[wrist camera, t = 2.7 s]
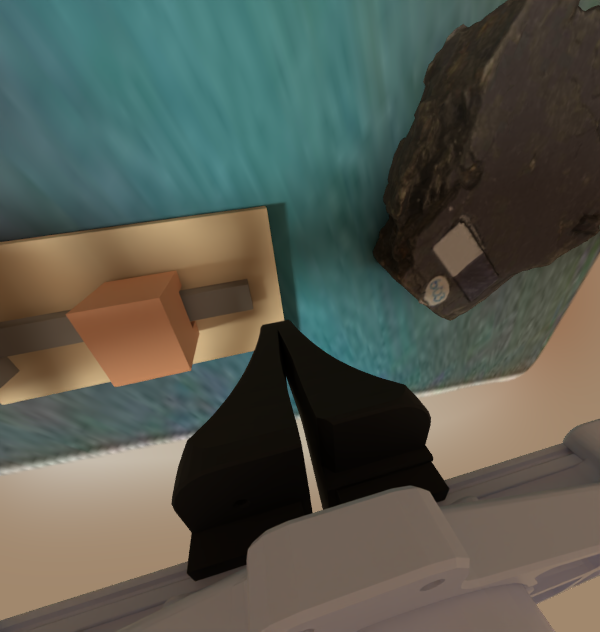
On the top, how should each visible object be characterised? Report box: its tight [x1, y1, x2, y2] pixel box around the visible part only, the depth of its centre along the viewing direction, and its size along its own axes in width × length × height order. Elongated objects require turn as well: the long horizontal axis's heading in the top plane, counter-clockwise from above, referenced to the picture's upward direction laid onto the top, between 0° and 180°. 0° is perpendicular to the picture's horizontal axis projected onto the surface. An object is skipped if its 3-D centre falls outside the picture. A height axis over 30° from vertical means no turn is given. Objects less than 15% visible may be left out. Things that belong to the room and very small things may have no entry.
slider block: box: [65, 271, 199, 387], centre depth 14 cm, size 4×5×4 cm
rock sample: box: [373, 0, 600, 321], centre depth 16 cm, size 18×16×5 cm
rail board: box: [0, 206, 284, 405], centre depth 15 cm, size 20×10×4 cm, turn 95°
